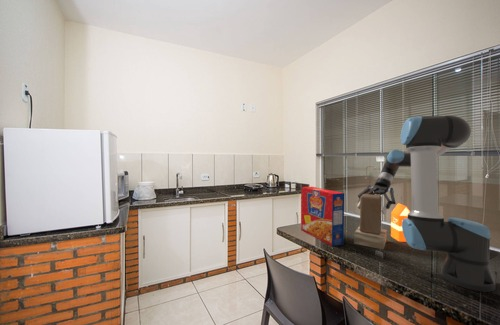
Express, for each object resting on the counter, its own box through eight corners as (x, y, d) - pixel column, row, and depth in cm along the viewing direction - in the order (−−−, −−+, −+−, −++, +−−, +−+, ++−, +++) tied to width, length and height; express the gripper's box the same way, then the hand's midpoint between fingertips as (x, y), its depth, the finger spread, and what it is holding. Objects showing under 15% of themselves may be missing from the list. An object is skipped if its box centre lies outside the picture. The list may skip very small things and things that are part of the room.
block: (380, 235, 120) (381, 197, 120) (359, 231, 126) (360, 195, 125) (381, 230, 129) (382, 195, 128) (361, 227, 134) (362, 193, 133)
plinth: (383, 249, 116) (383, 238, 116) (353, 243, 125) (354, 232, 124) (386, 240, 130) (386, 229, 129) (359, 235, 138) (359, 225, 137)
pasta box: (301, 230, 146) (301, 187, 146) (311, 228, 149) (311, 186, 149) (331, 246, 120) (332, 193, 120) (343, 244, 123) (344, 193, 123)
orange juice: (404, 236, 136) (405, 203, 136) (413, 242, 127) (414, 206, 127) (390, 236, 137) (391, 203, 136) (398, 241, 128) (399, 206, 127)
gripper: (409, 188, 126) (397, 219, 118) (365, 183, 146) (351, 209, 138) (406, 179, 123) (392, 210, 115) (361, 175, 143) (347, 202, 135)
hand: (370, 210), depth 126 cm, fingers open, 13 cm apart
